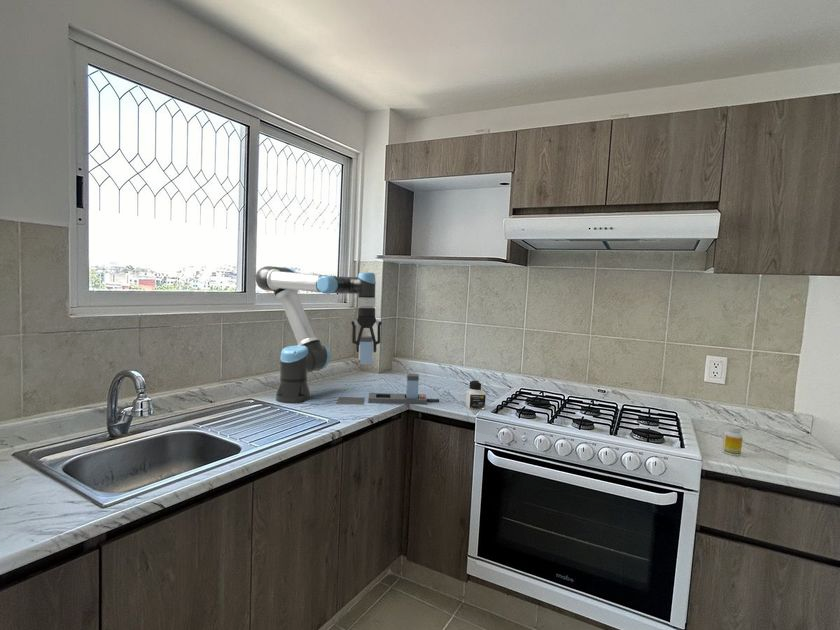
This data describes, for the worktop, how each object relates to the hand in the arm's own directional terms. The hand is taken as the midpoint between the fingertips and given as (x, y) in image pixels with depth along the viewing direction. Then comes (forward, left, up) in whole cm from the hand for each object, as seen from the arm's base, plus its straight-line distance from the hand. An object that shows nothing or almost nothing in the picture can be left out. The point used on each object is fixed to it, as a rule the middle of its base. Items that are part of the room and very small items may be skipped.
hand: (366, 359), depth 200 cm
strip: (+18, +1, -20) cm, 26 cm away
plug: (0, 0, -2) cm, 2 cm away
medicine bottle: (+50, -3, -20) cm, 54 cm away
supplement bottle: (+132, -53, -20) cm, 144 cm away
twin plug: (+21, +1, -19) cm, 28 cm away
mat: (-6, +1, -20) cm, 21 cm away
